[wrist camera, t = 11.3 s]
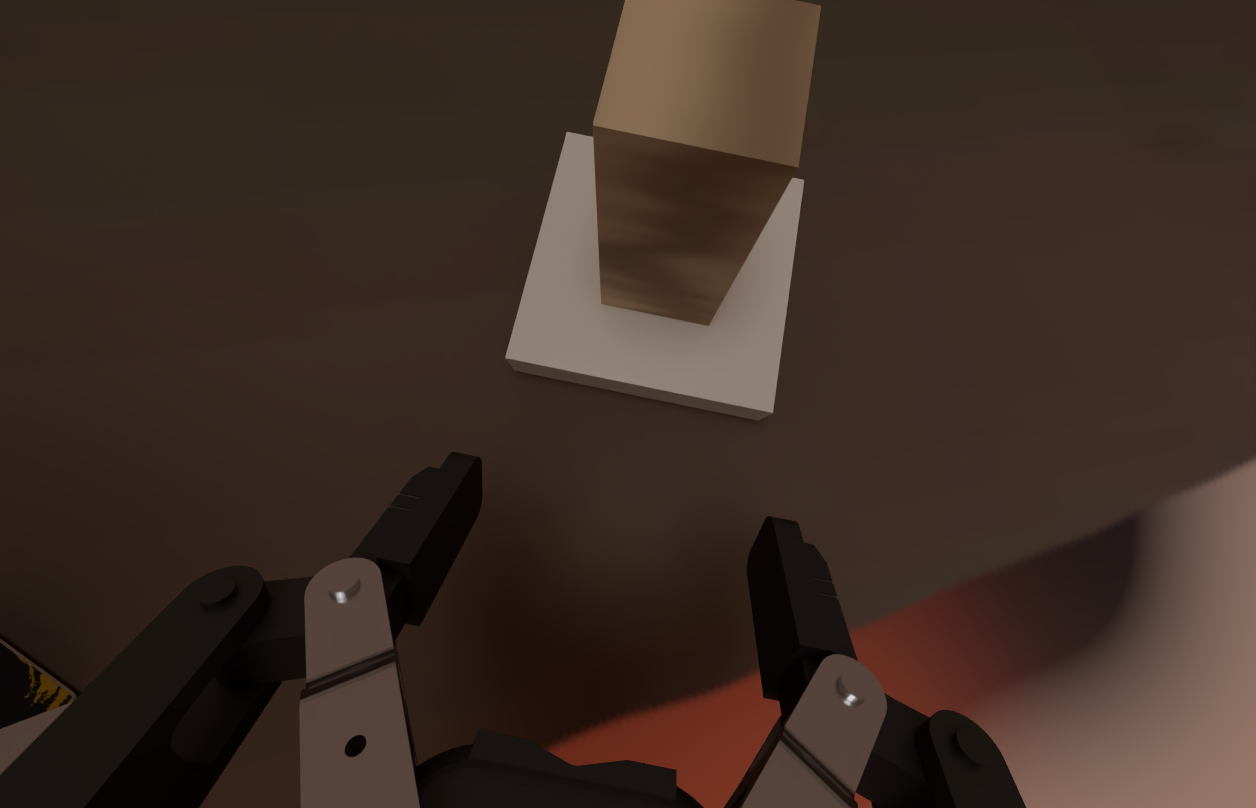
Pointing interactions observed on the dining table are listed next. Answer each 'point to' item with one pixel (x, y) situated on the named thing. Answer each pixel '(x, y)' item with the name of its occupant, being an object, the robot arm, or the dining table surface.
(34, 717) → the medicine bottle
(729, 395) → the cream tile
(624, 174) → the oak block
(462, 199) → the dining table surface
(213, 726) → the robot arm
